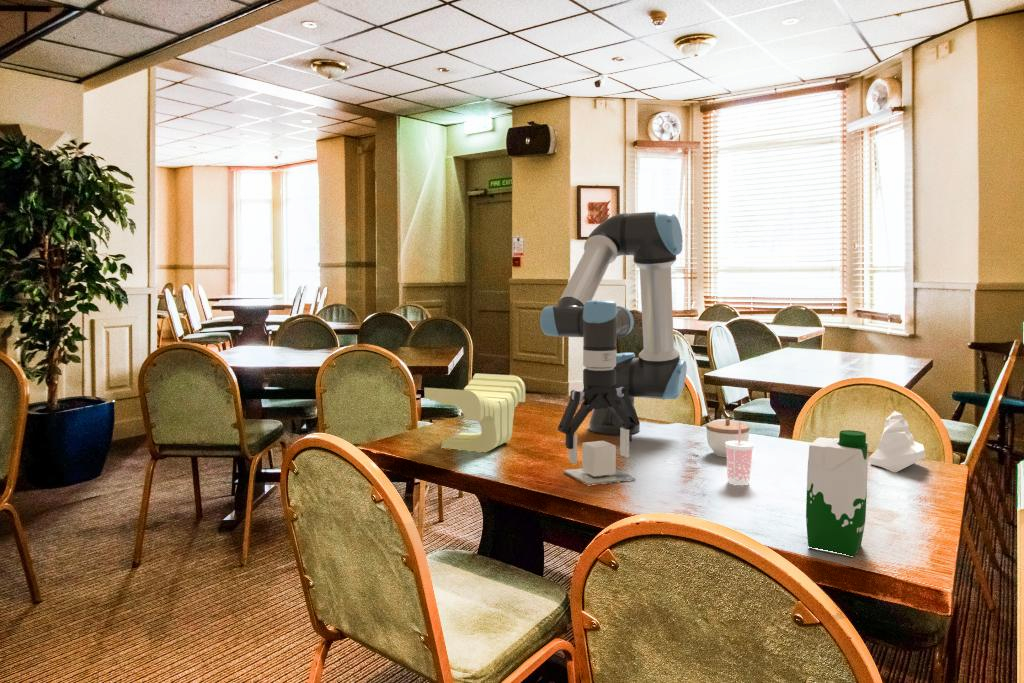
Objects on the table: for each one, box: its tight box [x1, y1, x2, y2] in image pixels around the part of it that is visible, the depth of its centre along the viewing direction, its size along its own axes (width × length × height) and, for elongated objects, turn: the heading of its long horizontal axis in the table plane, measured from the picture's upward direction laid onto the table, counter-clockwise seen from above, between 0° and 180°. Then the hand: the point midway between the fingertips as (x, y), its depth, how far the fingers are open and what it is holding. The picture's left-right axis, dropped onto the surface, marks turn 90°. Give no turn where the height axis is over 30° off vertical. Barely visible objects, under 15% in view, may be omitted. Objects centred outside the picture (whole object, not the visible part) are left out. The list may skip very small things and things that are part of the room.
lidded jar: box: [705, 418, 750, 458], centre depth 186 cm, size 11×11×9 cm
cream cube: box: [581, 440, 617, 477], centre depth 165 cm, size 6×6×7 cm
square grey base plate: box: [563, 467, 636, 485], centre depth 165 cm, size 12×12×7 cm
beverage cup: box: [725, 420, 755, 485], centre depth 160 cm, size 6×6×14 cm
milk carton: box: [805, 429, 869, 557], centre depth 121 cm, size 9×9×20 cm
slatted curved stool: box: [423, 372, 526, 453], centre depth 196 cm, size 30×16×18 cm, turn 157°
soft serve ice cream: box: [868, 410, 927, 473], centre depth 174 cm, size 12×15×14 cm
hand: (599, 459), depth 166 cm, fingers open, 13 cm apart
